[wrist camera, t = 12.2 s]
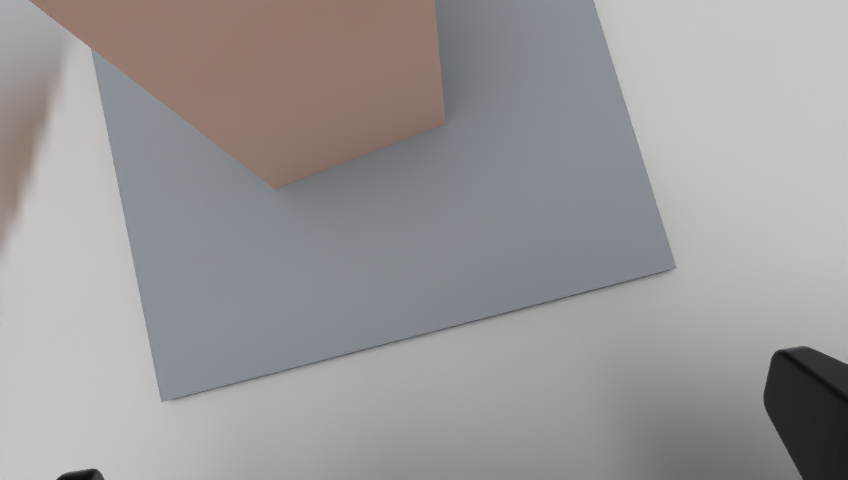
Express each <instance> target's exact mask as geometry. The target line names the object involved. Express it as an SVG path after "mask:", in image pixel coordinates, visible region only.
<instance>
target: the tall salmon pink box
mask: <svg viewBox="0 0 848 480" xmlns="http://www.w3.org/2000/svg"><path fill="white" fill-rule="evenodd" d="M29 1H31V2H32V3H33V4H35V5H36V6H37V7H39V8H40V9H41V10H42V11H44V12H45V13H46V14H48V15H49V16H50V17H52V18H53V19H54V20H55V21H57V22H58V23H59V24H61V25H62V26H63V27H65V28H66V29H67V30H68V31H70V32H71V33H72V34H74V35H75V36H76V37H77V38H79V39H80V40H81V41H83V42H84V43H85V44H87V45H88V46H89V47H90V48H92V49H93V50H94V51H96V52H97V53H98V54H100V55H101V56H102V57H103V58H105V59H106V60H107V61H109V62H110V63H111V64H113V65H114V66H115V67H116V68H118V69H119V70H120V71H122V72H123V73H124V74H126V75H127V76H128V77H129V78H131V79H132V80H133V81H135V82H136V83H137V84H139V85H140V86H141V87H142V88H144V89H145V90H146V91H148V92H149V93H150V94H152V95H153V96H154V97H155V98H157V99H158V100H159V101H161V102H162V103H163V104H165V105H166V106H167V107H168V108H170V109H171V110H172V111H174V112H175V113H176V114H178V115H179V116H180V117H181V118H183V119H184V120H185V121H187V122H188V123H189V124H191V125H192V126H193V127H194V128H196V129H197V130H198V131H200V132H201V133H202V134H204V135H205V136H206V137H207V138H209V139H210V140H211V141H213V142H214V143H215V144H217V145H218V146H219V147H220V148H222V149H223V150H224V151H226V152H227V153H228V154H230V155H231V156H232V157H233V158H235V159H236V160H237V161H239V162H240V163H241V164H242V165H244V166H245V167H246V168H248V169H249V170H250V171H252V172H253V173H254V174H255V175H257V176H258V177H259V178H261V179H262V180H263V181H265V182H266V183H267V184H268V185H270V186H271V187H272V188H274V189H277V188H280V187H282V186H285V185H287V184H290V183H293V182H295V181H298V180H301V179H303V178H306V177H308V176H311V175H314V174H316V173H319V172H322V171H324V170H327V169H329V168H332V167H335V166H337V165H340V164H342V163H345V162H348V161H350V160H353V159H356V158H358V157H361V156H363V155H366V154H369V153H371V152H374V151H377V150H379V149H382V148H384V147H387V146H390V145H392V144H395V143H398V142H400V141H403V140H405V139H408V138H411V137H413V136H416V135H419V134H421V133H424V132H426V131H429V130H432V129H434V128H437V127H439V126H442V125H445V124H446V121H445V110H444V99H443V87H442V76H441V65H440V54H439V43H438V32H437V21H436V10H435V0H29Z"/></svg>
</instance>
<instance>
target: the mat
mask: <svg viewBox="0 0 848 480" xmlns="http://www.w3.org/2000/svg"><path fill="white" fill-rule="evenodd" d="M435 10H436V21H437V32H438V43H439V54H440V65H441V76H442V87H443V99H444V110H445V121H446V124H445V125H442V126H439V127H437V128H434V129H432V130H429V131H426V132H424V133H421V134H419V135H416V136H413V137H411V138H408V139H405V140H403V141H400V142H398V143H395V144H392V145H390V146H387V147H384V148H382V149H379V150H377V151H374V152H371V153H369V154H366V155H363V156H361V157H358V158H356V159H353V160H350V161H348V162H345V163H342V164H340V165H337V166H335V167H332V168H329V169H327V170H324V171H322V172H319V173H316V174H314V175H311V176H308V177H306V178H303V179H301V180H298V181H295V182H293V183H290V184H287V185H285V186H282V187H280V188H277V189H274V188H272V187H271V186H270V185H268V184H267V183H266V182H265V181H263V180H262V179H261V178H259V177H258V176H257V175H255V174H254V173H253V172H252V171H250V170H249V169H248V168H246V167H245V166H244V165H242V164H241V163H240V162H239V161H237V160H236V159H235V158H233V157H232V156H231V155H230V154H228V153H227V152H226V151H224V150H223V149H222V148H220V147H219V146H218V145H217V144H215V143H214V142H213V141H211V140H210V139H209V138H207V137H206V136H205V135H204V134H202V133H201V132H200V131H198V130H197V129H196V128H194V127H193V126H192V125H191V124H189V123H188V122H187V121H185V120H184V119H183V118H181V117H180V116H179V115H178V114H176V113H175V112H174V111H172V110H171V109H170V108H168V107H167V106H166V105H165V104H163V103H162V102H161V101H159V100H158V99H157V98H155V97H154V96H153V95H152V94H150V93H149V92H148V91H146V90H145V89H144V88H142V87H141V86H140V85H139V84H137V83H136V82H135V81H133V80H132V79H131V78H129V77H128V76H127V75H126V74H124V73H123V72H122V71H120V70H119V69H118V68H116V67H115V66H114V65H113V64H111V63H110V62H109V61H107V60H106V59H105V58H103V57H102V56H101V55H100V54H98V53H97V52H96V51H94V50H93V49H92V48H91V50H92V55H93V60H94V65H95V70H96V75H97V80H98V85H99V90H100V95H101V100H102V105H103V110H104V115H105V121H106V126H107V131H108V136H109V141H110V146H111V151H112V156H113V161H114V166H115V171H116V176H117V181H118V186H119V191H120V196H121V201H122V206H123V211H124V216H125V221H126V226H127V231H128V236H129V241H130V246H131V251H132V256H133V262H134V267H135V272H136V277H137V282H138V287H139V292H140V297H141V302H142V307H143V312H144V317H145V322H146V327H147V332H148V337H149V342H150V347H151V352H152V357H153V362H154V367H155V372H156V377H157V382H158V387H159V392H160V397H161V402H163V401H168V400H172V399H176V398H180V397H183V396H187V395H191V394H195V393H199V392H203V391H206V390H210V389H214V388H218V387H222V386H226V385H230V384H233V383H237V382H241V381H245V380H249V379H253V378H256V377H260V376H264V375H268V374H272V373H276V372H279V371H283V370H287V369H291V368H295V367H299V366H303V365H306V364H310V363H314V362H318V361H322V360H326V359H329V358H333V357H337V356H341V355H345V354H349V353H352V352H356V351H360V350H364V349H368V348H372V347H376V346H379V345H383V344H387V343H391V342H395V341H399V340H402V339H406V338H410V337H414V336H418V335H422V334H425V333H429V332H433V331H437V330H441V329H445V328H449V327H452V326H456V325H460V324H464V323H468V322H472V321H475V320H479V319H483V318H487V317H491V316H495V315H498V314H502V313H506V312H510V311H514V310H518V309H522V308H525V307H529V306H533V305H537V304H541V303H545V302H548V301H552V300H556V299H560V298H564V297H568V296H572V295H575V294H579V293H583V292H587V291H591V290H595V289H598V288H602V287H606V286H610V285H614V284H618V283H621V282H625V281H629V280H633V279H637V278H641V277H645V276H648V275H652V274H656V273H660V272H664V271H668V270H671V269H674V268H676V266H675V262H674V259H673V256H672V253H671V250H670V246H669V243H668V240H667V237H666V233H665V230H664V227H663V224H662V221H661V217H660V214H659V211H658V208H657V204H656V201H655V198H654V195H653V192H652V188H651V185H650V182H649V179H648V175H647V172H646V169H645V166H644V163H643V159H642V156H641V153H640V150H639V146H638V143H637V140H636V137H635V134H634V130H633V127H632V124H631V121H630V117H629V114H628V111H627V108H626V105H625V101H624V98H623V95H622V92H621V88H620V85H619V82H618V79H617V76H616V72H615V69H614V66H613V63H612V59H611V56H610V53H609V50H608V47H607V43H606V40H605V37H604V34H603V30H602V27H601V24H600V21H599V18H598V14H597V11H596V8H595V5H594V2H593V0H435Z"/></svg>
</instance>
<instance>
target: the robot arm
mask: <svg viewBox="0 0 848 480" xmlns="http://www.w3.org/2000/svg"><path fill="white" fill-rule="evenodd" d="M764 405H765V409H766V411H767V414H768V416H769V417H770V419H771V421H772V423H773V425H774V427H775V429H776V430H777V432H778V434H779V436H780V438H781V440H782V442H783V443H784V445H785V447H786V449H787V451H788V453H789V455H790V456H791V458H792V460H793V462H794V464H795V466H796V468H797V469H798V471H799V473H800V475H801V477H802V479H803V480H848V364H846V363H843V362H841V361H839V360H837V359H834V358H832V357H830V356H828V355H825V354H823V353H821V352H819V351H816V350H814V349H812V348H809V347H806V346H799V347H793V348H787V349H781V350H778V351H776V352H775V353H774V355H773V356H772V359H771V363H770V367H769V372H768V376H767V381H766V385H765V390H764ZM57 480H104V478H103V476H102V474H101V473H100V472H99V471H98V470H97V469H86V470H80V471H74V472H69V473H65V474H63V475H61V476H60V477H59V478H58V479H57Z"/></svg>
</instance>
